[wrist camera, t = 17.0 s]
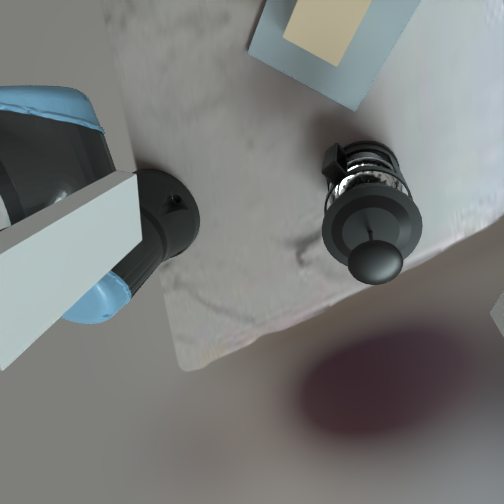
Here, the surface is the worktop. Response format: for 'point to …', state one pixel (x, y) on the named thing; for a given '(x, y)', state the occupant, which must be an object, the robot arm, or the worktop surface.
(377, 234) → the french press
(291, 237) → the worktop surface
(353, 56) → the lid
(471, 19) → the worktop surface
